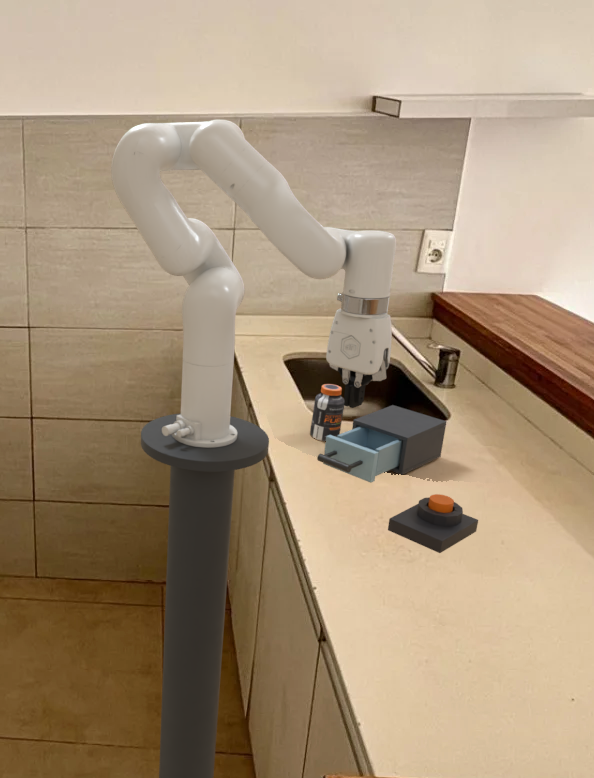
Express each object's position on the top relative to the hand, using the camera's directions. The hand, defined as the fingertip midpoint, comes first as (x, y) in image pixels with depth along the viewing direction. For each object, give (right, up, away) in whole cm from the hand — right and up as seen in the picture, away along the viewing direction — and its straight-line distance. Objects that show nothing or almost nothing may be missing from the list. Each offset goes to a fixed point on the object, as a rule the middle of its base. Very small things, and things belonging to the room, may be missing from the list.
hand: (352, 405), depth 137 cm
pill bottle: (+3, -7, +25) cm, 26 cm away
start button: (+10, -17, -13) cm, 23 cm away
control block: (+8, -20, -12) cm, 25 cm away
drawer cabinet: (+14, -10, +15) cm, 23 cm away
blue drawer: (+4, -12, +8) cm, 15 cm away
